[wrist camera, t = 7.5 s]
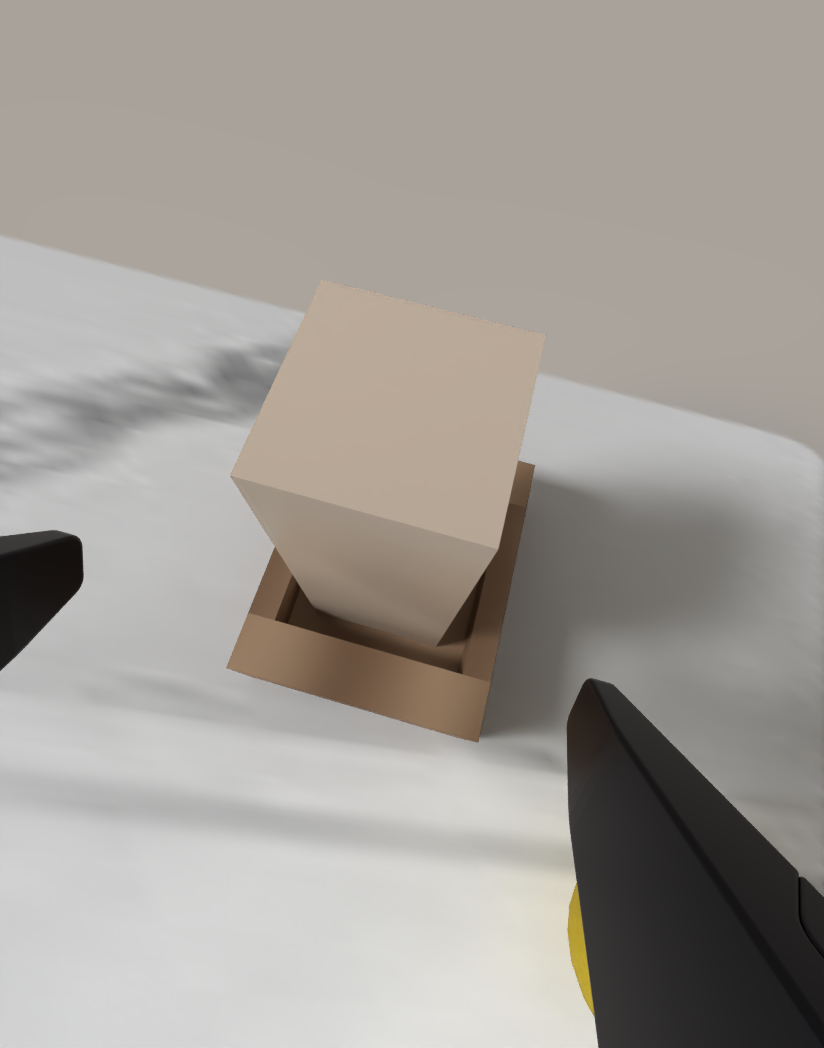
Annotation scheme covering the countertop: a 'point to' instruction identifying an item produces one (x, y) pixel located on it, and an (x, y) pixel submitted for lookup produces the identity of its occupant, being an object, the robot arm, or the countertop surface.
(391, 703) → the tray
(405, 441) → the clay bar
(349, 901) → the countertop surface
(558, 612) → the countertop surface
